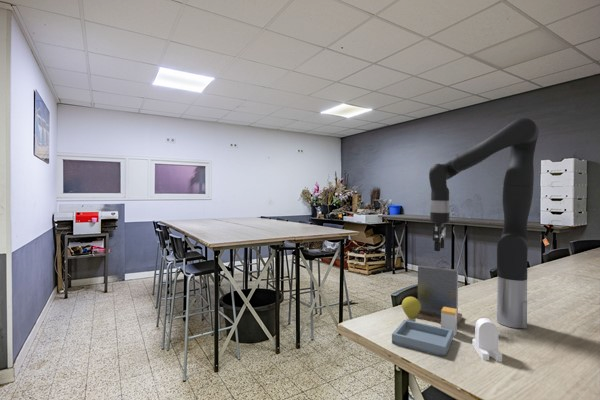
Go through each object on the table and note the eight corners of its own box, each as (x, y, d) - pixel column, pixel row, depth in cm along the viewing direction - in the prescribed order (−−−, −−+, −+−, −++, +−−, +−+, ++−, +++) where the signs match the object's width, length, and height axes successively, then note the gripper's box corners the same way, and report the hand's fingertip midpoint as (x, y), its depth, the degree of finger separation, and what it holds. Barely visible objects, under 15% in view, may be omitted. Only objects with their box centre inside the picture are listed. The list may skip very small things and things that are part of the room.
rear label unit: (462, 317, 125) (462, 267, 125) (458, 326, 117) (458, 273, 117) (419, 309, 134) (420, 262, 134) (413, 317, 126) (413, 267, 126)
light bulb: (398, 320, 123) (398, 294, 123) (415, 319, 123) (415, 294, 123) (405, 327, 116) (406, 300, 116) (423, 327, 117) (424, 299, 116)
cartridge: (456, 331, 113) (457, 309, 113) (454, 336, 109) (455, 312, 109) (443, 328, 116) (443, 306, 115) (441, 333, 112) (441, 310, 112)
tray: (452, 339, 107) (452, 330, 107) (445, 357, 96) (445, 347, 96) (404, 327, 116) (404, 319, 116) (391, 343, 105) (391, 333, 105)
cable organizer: (489, 345, 103) (490, 314, 102) (502, 362, 93) (503, 327, 93) (471, 344, 104) (472, 313, 103) (482, 360, 94) (483, 326, 94)
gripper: (446, 212, 128) (445, 253, 129) (452, 210, 140) (451, 248, 140) (426, 211, 132) (426, 251, 133) (434, 210, 144) (433, 246, 145)
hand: (439, 249), depth 137 cm, fingers open, 8 cm apart
